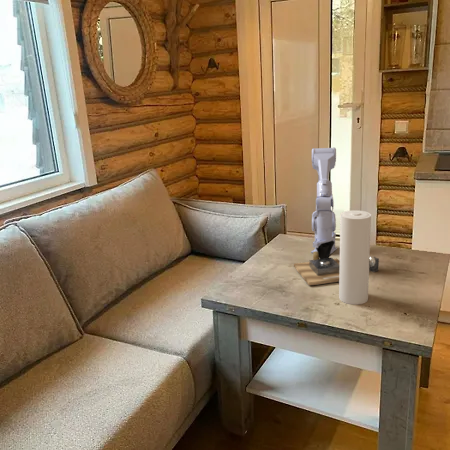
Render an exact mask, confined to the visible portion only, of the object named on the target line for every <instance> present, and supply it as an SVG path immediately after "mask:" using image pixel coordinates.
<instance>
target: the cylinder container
mask: <svg viewBox="0 0 450 450" xmlns="http://www.w3.org/2000/svg"><path fill="white" fill-rule="evenodd" d="M339 216H340V217H339V219H340V221H339V222H340V223H339V261H340V270H339V282H338V285H339V287H338V297H339V300H340V301H341V302H343V303H345V304H348V305H353V306H354V305H362V304H365V303H367V302H368V300H369V280H370V279H369V276H370V270H369V257H370V256H371V255H370V252H371V230H372V228H371V227H372V225H371V224H372V213H370V212H368V211H365V210H359V209H358V210H355V209H354V210H346V211H342V212H340V215H339Z"/></svg>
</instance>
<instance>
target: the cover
mask: <svg viewBox="0 0 450 450" xmlns="http://www.w3.org/2000/svg"><path fill="white" fill-rule="evenodd" d="M334 259H335V258H333V257H329V258H324V259H320V258H319V259H316V260H313V259H309V261H308V262H309V267H310V268H311V269H312V270H313V271H314V272H315V273H316V274H317V276H319V275H327V274H335V273H339V270H340V265H339V264H338V263H337V262H336V261H335V260H334Z"/></svg>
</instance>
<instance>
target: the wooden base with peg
mask: <svg viewBox="0 0 450 450" xmlns="http://www.w3.org/2000/svg"><path fill="white" fill-rule="evenodd" d="M312 254H313V256H312V260H316V259H320V258H319V254H318V252H317V251H315V252H313V253H312ZM333 259H334V260H335V261H336V262H337V263H338V264H339V265H340V259H338V258H337V257H335V258H333ZM293 268H294V269H295V270H296V272H298V274H299V275H300V277H302V278H303V280H304V281H305V282H306V284H307V285H308V286H314V285H323V284H330V283H339V273H335V274H327V275H319V276H317V274H316V273H315V272H314V271H313V270H312V269H311V268H310V267H309V261H306V262H297V263H293Z"/></svg>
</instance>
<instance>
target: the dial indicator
mask: <svg viewBox="0 0 450 450" xmlns="http://www.w3.org/2000/svg"><path fill="white" fill-rule="evenodd" d="M379 263H380V259H379V258H378V257H376V256H373V255H370V257H369V272H372V273H375V272H378V271H379V267H380V266H379V265H380V264H379Z"/></svg>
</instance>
